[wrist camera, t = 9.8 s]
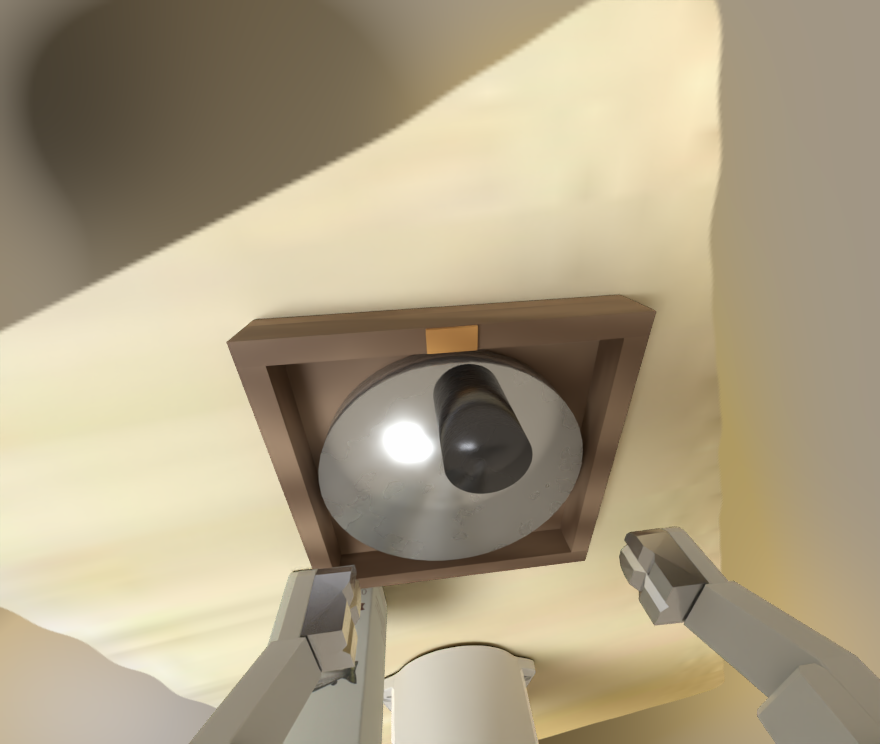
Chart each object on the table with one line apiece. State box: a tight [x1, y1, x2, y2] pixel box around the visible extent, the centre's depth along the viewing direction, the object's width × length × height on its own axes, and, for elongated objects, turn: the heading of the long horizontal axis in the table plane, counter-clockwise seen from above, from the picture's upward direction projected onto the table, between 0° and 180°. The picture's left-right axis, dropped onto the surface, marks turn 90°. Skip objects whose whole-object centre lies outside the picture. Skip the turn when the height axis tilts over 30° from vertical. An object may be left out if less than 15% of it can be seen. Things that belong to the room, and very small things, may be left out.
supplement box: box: [268, 572, 387, 744], centre depth 23 cm, size 7×7×13 cm
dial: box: [318, 349, 583, 561], centre depth 19 cm, size 16×16×7 cm
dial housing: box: [227, 295, 656, 589], centre depth 21 cm, size 20×20×3 cm
